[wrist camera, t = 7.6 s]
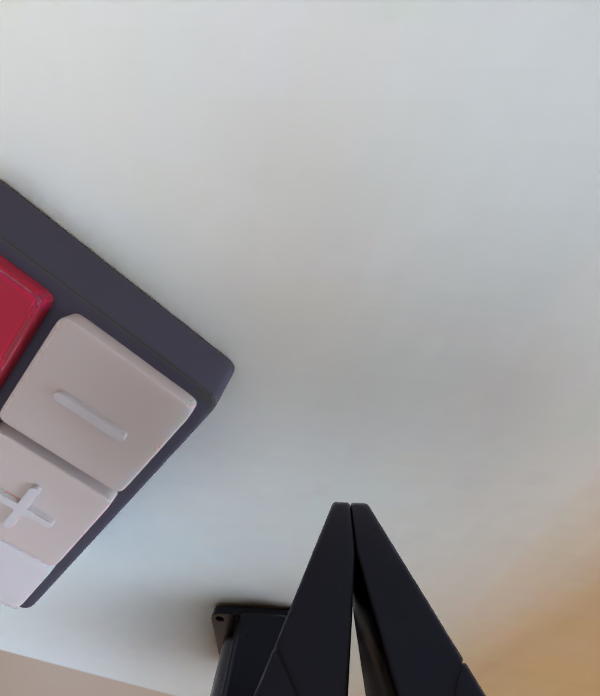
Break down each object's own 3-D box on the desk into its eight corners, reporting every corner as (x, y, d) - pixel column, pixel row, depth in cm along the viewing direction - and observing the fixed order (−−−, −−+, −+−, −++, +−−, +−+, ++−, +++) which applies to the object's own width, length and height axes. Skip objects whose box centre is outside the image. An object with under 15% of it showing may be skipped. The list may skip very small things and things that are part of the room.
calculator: (215, 413, 10) (12, 632, 14) (242, 360, 14) (78, 543, 18) (-153, 143, 8) (-265, 497, 12) (5, 171, 12) (-121, 429, 16)
